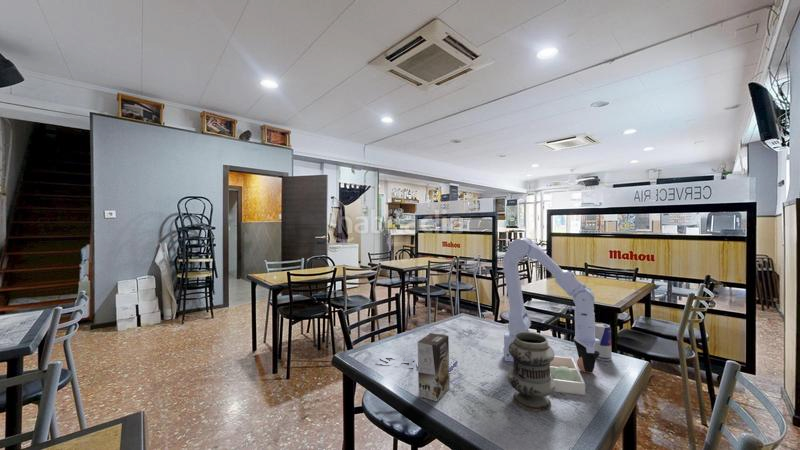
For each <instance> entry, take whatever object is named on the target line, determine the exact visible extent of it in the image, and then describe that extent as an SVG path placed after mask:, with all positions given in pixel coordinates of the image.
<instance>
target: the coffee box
mask: <svg viewBox="0 0 800 450" xmlns="http://www.w3.org/2000/svg"><path fill="white" fill-rule="evenodd" d="M449 338H450V336H449V335H445V334H441V333H434V332H430V333H428V334H427V335H426V336H424V337H422V338H421V339H420V340H418V341H417V363H418V370H417V372H418V373H417V377H418V378H417V380H418V384H417V385H418V397H420V396H422V397H421V398H423V397H425V398H424V399H426V398H428V399H427V400H429V399H431V400H430V401H432V400H434V401H433V402H435V401H438V400H439V399H442V397H443V396H444V395H445V394H446V393H447V392H448V391H449V389H450V387H451V382H450V373H449V368H450V348H449V347H450V346H449V340H450V339H449ZM446 391H447V392H446ZM439 401H440V400H439ZM439 401H438V402H439Z"/></svg>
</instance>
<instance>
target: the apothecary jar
mask: <svg viewBox="0 0 800 450" xmlns="http://www.w3.org/2000/svg"><path fill="white" fill-rule="evenodd" d="M548 341H549V340H548V338H547V337H546V336H544V335H542V334H540V333H537V332H531V331H529V332H522V333H518V334H516V335H515V339H514V341H513V342H512V343H511V344H510V345H509V353H510V355H511V356H512V357H513V362H512V363H513V366H512V368H513V369H512V370H510V372H509V374H508V382H509V384H510V386H511V387H512V388H513V389H514V390H515V391H516V392H515V393H514V394H513V395H512V400H513V402H514V403H515V404H516V405H518V406H519V407H521V408H523V409H525V410H528V411H532V412H543V411H544V410H549V409H550V408H551V407H552V402H551V400H550V399H549V398H548V396H549V395H552V393H553V392H555V391H554V390H555V381H554V379H553V378H552V376H551V375H550V362H551V361H552V360H553V359H554V356H556V355H555V351H554V350H553V348H552V347H551V346H550V345H549V342H548Z"/></svg>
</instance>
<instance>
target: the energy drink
mask: <svg viewBox="0 0 800 450" xmlns="http://www.w3.org/2000/svg"><path fill="white" fill-rule="evenodd" d="M595 338H597V339H599V340H600V343H596V344H595V346H594V351H598V352H599V353H600V354H599V356H598V358H597V359H596V360H598V361H603V362H609V361H611V360H612V328H611V326H610V324H607V323H603V322H595Z"/></svg>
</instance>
